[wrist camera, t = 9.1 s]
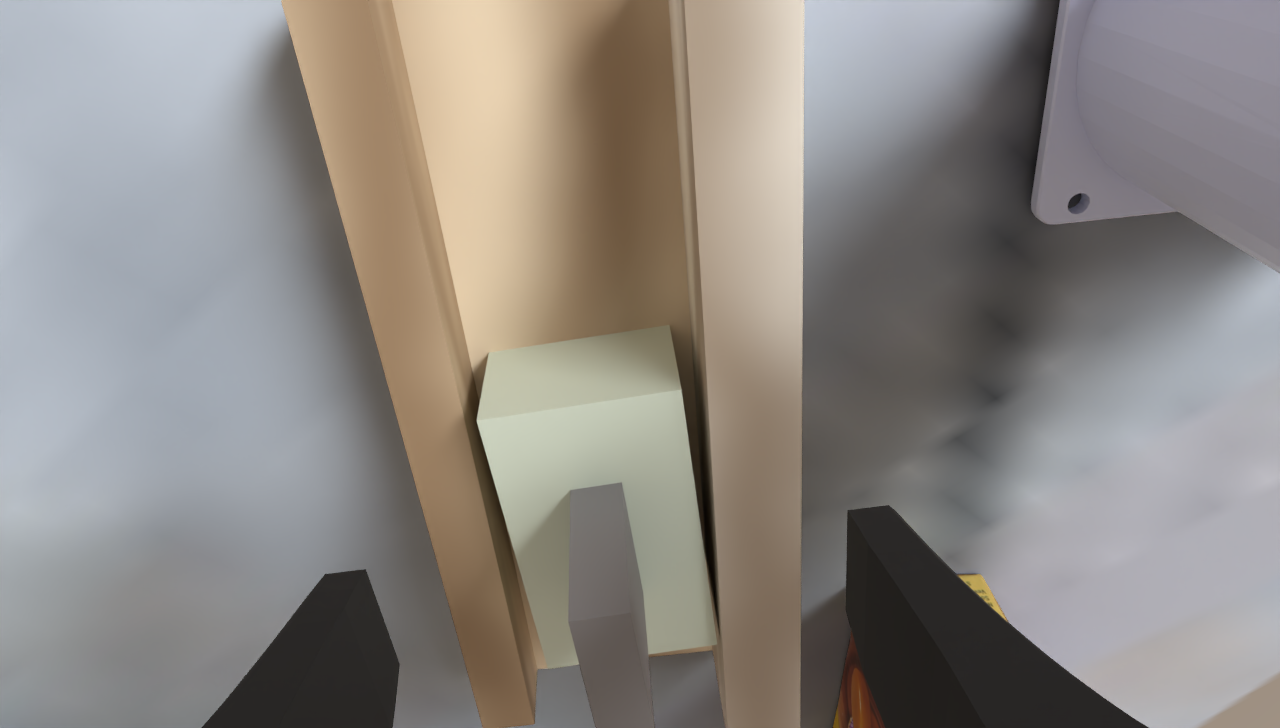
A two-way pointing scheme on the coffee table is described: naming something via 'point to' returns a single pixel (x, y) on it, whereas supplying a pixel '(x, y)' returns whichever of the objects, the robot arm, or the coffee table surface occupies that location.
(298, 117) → the coffee table surface
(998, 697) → the robot arm
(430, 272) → the board
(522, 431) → the slab with grey handle
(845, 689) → the candy box
